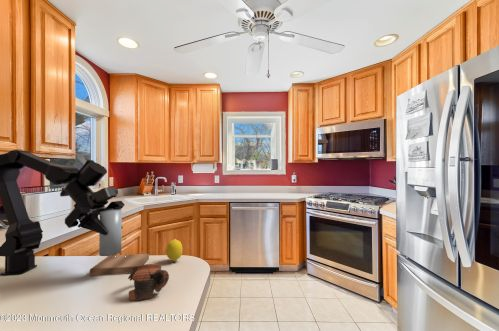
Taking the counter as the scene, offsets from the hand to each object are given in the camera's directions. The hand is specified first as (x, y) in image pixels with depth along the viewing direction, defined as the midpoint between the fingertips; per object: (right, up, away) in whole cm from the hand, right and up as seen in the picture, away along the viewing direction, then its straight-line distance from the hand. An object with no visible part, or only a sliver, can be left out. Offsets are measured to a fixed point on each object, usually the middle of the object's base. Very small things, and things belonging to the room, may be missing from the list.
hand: (114, 231), depth 73 cm
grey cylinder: (-1, -7, 0) cm, 7 cm away
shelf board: (-1, -14, +6) cm, 15 cm away
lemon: (+16, -14, +10) cm, 23 cm away
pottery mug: (+16, -13, -11) cm, 23 cm away
